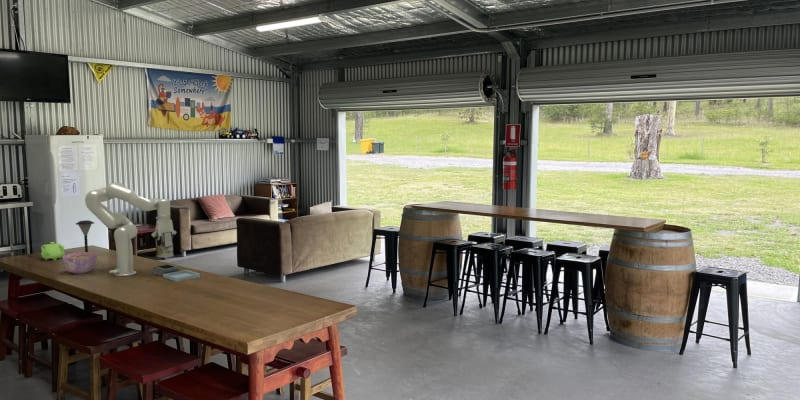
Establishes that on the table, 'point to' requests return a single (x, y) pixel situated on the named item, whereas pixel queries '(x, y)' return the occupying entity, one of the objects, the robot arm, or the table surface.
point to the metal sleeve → (165, 269)
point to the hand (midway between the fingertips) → (164, 245)
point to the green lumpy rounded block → (52, 251)
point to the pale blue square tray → (181, 275)
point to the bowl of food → (80, 262)
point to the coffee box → (165, 245)
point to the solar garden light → (85, 230)
